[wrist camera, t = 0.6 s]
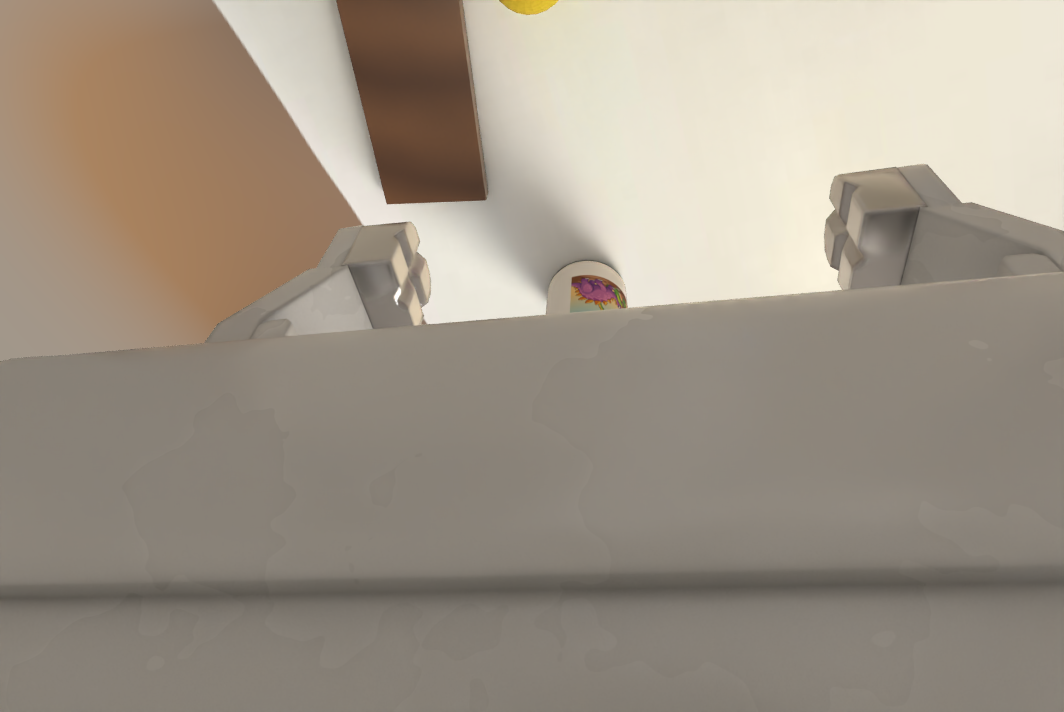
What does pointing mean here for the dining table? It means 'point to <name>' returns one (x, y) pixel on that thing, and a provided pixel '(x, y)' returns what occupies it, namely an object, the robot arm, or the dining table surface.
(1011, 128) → the dining table surface
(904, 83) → the dining table surface
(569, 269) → the milk bottle
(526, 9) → the lemon
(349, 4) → the serving board
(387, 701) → the robot arm
